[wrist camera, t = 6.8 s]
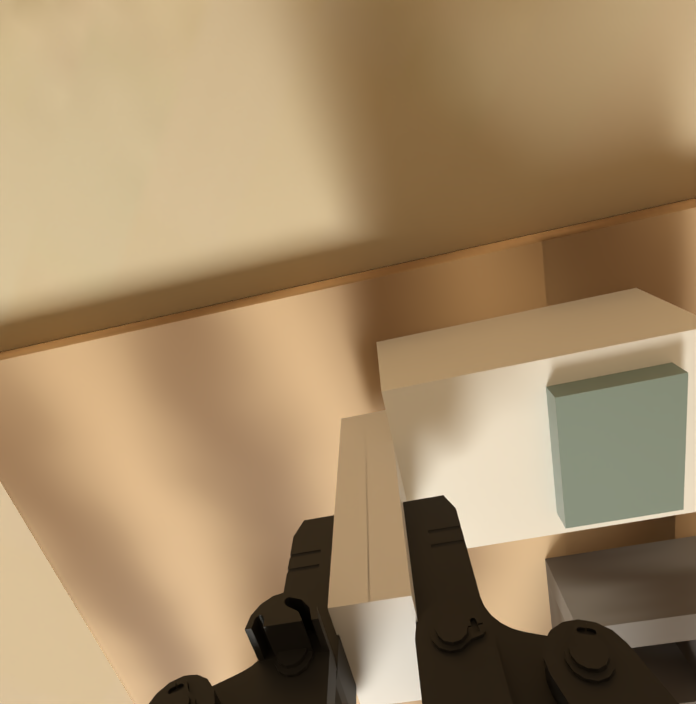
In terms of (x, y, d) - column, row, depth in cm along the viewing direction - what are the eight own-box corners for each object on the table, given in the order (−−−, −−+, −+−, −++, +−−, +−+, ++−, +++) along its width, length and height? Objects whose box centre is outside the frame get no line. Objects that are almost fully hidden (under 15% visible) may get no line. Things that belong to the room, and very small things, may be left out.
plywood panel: (165, 713, 24) (128, 818, 20) (-37, 360, 17) (-154, 419, 13) (795, 631, 21) (893, 737, 17) (872, 158, 14) (1072, 157, 10)
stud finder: (407, 481, 17) (421, 572, 13) (376, 341, 15) (382, 402, 11) (637, 440, 16) (722, 525, 12) (635, 287, 14) (736, 333, 11)
